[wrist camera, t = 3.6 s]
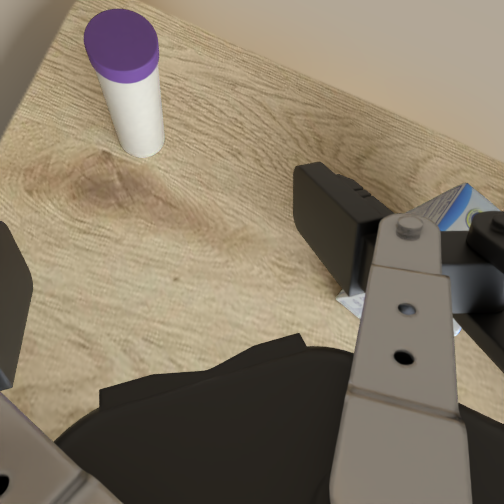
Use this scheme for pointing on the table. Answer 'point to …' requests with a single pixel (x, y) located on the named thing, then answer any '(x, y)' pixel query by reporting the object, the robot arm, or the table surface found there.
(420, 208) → the medicine box
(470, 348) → the table surface
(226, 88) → the table surface
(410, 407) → the robot arm
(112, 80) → the glue stick
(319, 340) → the table surface
